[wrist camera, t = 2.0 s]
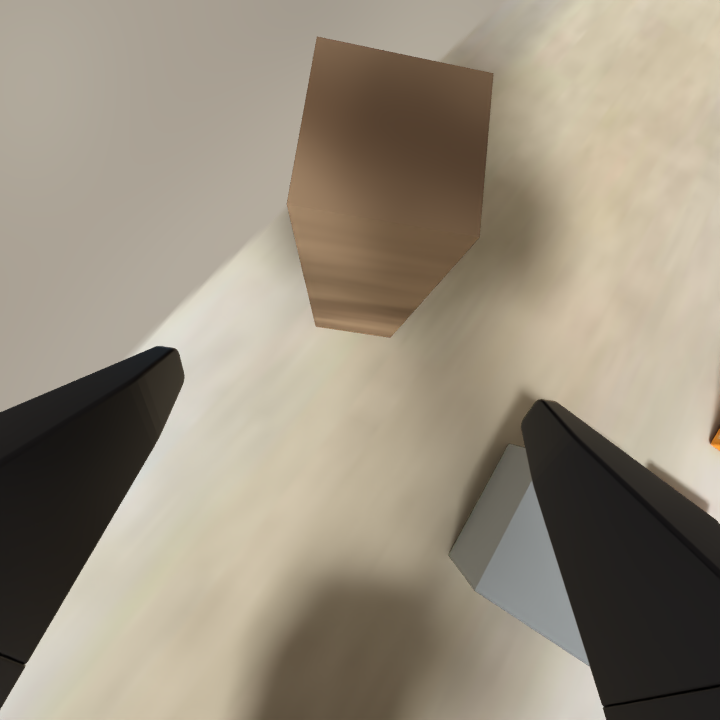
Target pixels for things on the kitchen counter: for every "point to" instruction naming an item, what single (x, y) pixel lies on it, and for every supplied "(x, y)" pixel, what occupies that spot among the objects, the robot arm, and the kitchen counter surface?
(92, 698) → the kitchen counter surface
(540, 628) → the pedestal
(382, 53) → the walnut block
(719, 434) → the supplement box
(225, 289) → the kitchen counter surface
